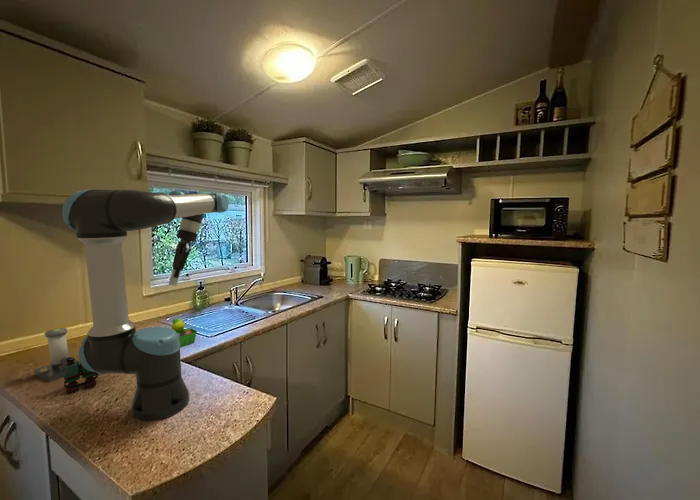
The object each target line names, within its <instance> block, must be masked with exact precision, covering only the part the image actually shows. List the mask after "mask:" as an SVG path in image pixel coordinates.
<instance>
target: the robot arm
mask: <svg viewBox="0 0 700 500" xmlns="http://www.w3.org/2000/svg"><path fill="white" fill-rule="evenodd" d="M228 210H229V198H228V196H227V195H226V194H225V193H219V192H217V193H213V192H210V193H206V192H205V193H201V192H200V193H199V192H198V193H195V192H193V193H192V192H191V193H190V192H189V193H188V192H187V193H185V192H183V191H180V190H177V189H175V190H174V189H173V190H172V191H170V192H169V193H164V192H155V191H154V192H152V191H145V190H144V191H143V190H133V189H95V188H94V189H86V190H83V189H82V190H78V191H76V192H73V193H72V194H71V195H70V196H69V197H68V198H66V199H65V202H64V203H63V206H62V220H63V222H64V223H65V224H66V225H67V227H68V228H70V229H71V230H73V231H75V232H76V239H77V240H79V242H81V243H82V244H83V245H84V249H85V250H84V251H85V260H86V269H87V271H86V272H87V279H88V290H89V299H90V306H91V316H92V317H91V319H92V327H91V328H89V330H88V331H87V336H86V337H85V338H83V340H82V341H81V346H79V349H78V359H79V360H78V361H80V362H81V364H82V366H83V367H84V368H85V369H87V370H88V371H91V372H96V373H98V374H101V375H102V374H103V375H104V374H105V375H106V374H121V375H124V374H125V375H135V376H136V377H135V381H136V388H135V392H134V396H133V399H132V402H131V406H130V408H131V416H132V418H133V419H136V420H137V421H143V422H144V421H145V422H150V421H152V422H153V421H156V420H157V421H158V420H162V419H165V418H168V417H170V416H172V415H175V414H177V413H178V412H180V411H181V410H183V409H184V408H186V406H187V405H188V403H190V393H189V390H188V387H187V385H186V383H185V381H184V378H183V377H182V364H181V363H182V362H181V347H180V342H179V336H178V334H177V332H176V331H175V330H173V329H172V327H171V328H170V327H166V326H154V327H151V326H149V327H144V328H141V329H139V330H137V329H136V324H135V322H134V321H132V320H130V319H129V308H128V299H127V287H126V285H127V284H126V275H125V266H124V265H125V263H124V255H123V253H124V252H123V242H124V240H125V239H126V238H127V237H128V232H135V231H141V230H145V229H150V228H154V227H159V226H162V225H167V224H169V223H171V222H173V221H174V220H175V219H176V220H177V219H181V221H180V224H179V229H178V231H177V234H176V238H177V239H180V241H179V242H178V243H177V245H176V246H175V247H176V248H175V254H174V257H173V260H172V261H173V262H172V265H171V267H172V272H171V274H170V275H171V276H170V277H169V281H168V285H170V286H178V285H177V284H178V283H179V282H178V281H179V278H180V274H181V271H182V270H184V268H185V265H186V263H187V260H188V257H189V256H190V253H191V250H192V247H191V242H192V243H193V242H194V243H195V242H197V239H198V233H199V231H200V229H202V225H201V224H202V221H203V218H204V214H211V213H212V214H213V213H219V214H220V213H226V212H227V211H228ZM136 330H137V331H136Z"/></svg>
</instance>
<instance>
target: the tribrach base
mask: <svg viewBox="0 0 700 500" xmlns="http://www.w3.org/2000/svg"><path fill="white" fill-rule="evenodd" d="M75 361H79V365H80V360H77V359H75V360H74V362H75ZM66 364H68V362H67V361H66V359H63V360H61V364H56V365H52V364H51V363H50V364H48V365H45V366H42V367H38V368H35V369H33V373H34V376H36V377H37V378H39V379H40V378H41V379H42V380H45V381H47V382H50V383H51V382H54V381H57V380H59V379H63V378H64V376H65V365H66Z"/></svg>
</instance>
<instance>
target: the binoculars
mask: <svg viewBox="0 0 700 500" xmlns="http://www.w3.org/2000/svg"><path fill="white" fill-rule="evenodd" d="M74 360H76V359H75V357H73V356H72V357H71V356H69V357H68V358H66V361H67V362H68V364H66V365H65V376H64V377H63V379H64V381H63V387H64V388H66V391H65V392H66V394H68V395H69V394H70V395H71V394H75V393H77V392H79V390H80V387H82V386H84V389H86V390H88V389H93V388H94V387H96V386H97V378H98V377H99V373H98V372H91V371H88V370H87V369H85V368H84V367H83V366H82V364H81V362H80V365H79V361H80V360H78V361H75V362H74ZM81 378H83V379H84V382H78V380H80V379H81Z"/></svg>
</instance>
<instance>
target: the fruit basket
mask: <svg viewBox="0 0 700 500" xmlns="http://www.w3.org/2000/svg"><path fill="white" fill-rule="evenodd" d="M185 327H186V324H185V323H184V322H183V321H182V320H181V319H180V318H177V317H176V318H173V320H172V325H171V329H173V330H175V331H176V332H177V334H178V336H179V342H180V346H181V347H184V346H187V345H189V344H193V343H195V340H196V338H197V333H198V331H197V330H195V329H194V328H191V327H187V328H185Z"/></svg>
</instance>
